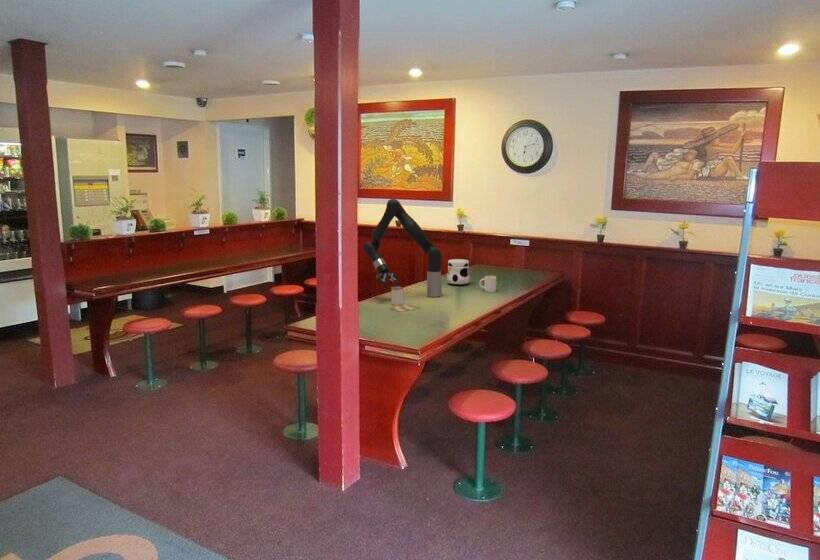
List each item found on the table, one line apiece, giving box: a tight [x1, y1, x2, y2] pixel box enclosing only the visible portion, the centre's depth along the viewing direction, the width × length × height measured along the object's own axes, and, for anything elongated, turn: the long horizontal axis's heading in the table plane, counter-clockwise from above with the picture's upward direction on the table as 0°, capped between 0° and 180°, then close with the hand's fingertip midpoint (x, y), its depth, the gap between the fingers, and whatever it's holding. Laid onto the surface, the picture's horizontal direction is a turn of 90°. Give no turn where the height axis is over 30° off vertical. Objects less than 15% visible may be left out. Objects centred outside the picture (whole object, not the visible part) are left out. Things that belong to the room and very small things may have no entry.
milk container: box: [446, 258, 471, 286], centre depth 430 cm, size 17×17×18 cm
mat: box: [387, 304, 420, 313], centre depth 357 cm, size 16×12×1 cm
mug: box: [478, 275, 497, 293], centre depth 407 cm, size 12×8×10 cm
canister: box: [390, 286, 404, 306], centre depth 368 cm, size 5×5×11 cm
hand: (391, 286), depth 371 cm, fingers open, 8 cm apart
